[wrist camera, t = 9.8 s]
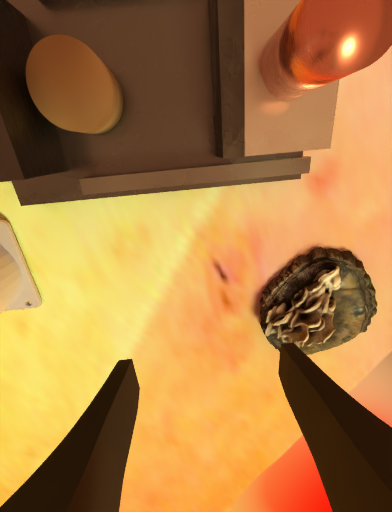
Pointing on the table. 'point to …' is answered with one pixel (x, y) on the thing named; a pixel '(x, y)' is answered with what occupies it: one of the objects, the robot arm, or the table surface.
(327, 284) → the log
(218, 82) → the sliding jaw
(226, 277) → the table surface
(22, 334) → the table surface
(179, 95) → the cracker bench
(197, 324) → the table surface
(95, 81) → the tan rounded lump
